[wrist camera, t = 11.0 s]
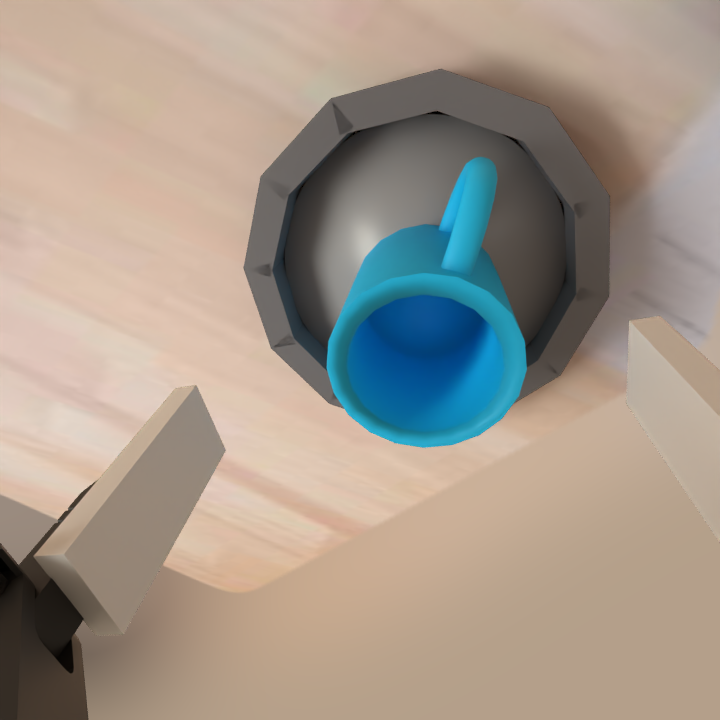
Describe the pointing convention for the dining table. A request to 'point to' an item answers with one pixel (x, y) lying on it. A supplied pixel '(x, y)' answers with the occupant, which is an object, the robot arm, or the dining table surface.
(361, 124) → the holder ring
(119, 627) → the robot arm
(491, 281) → the mug
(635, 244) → the dining table surface
